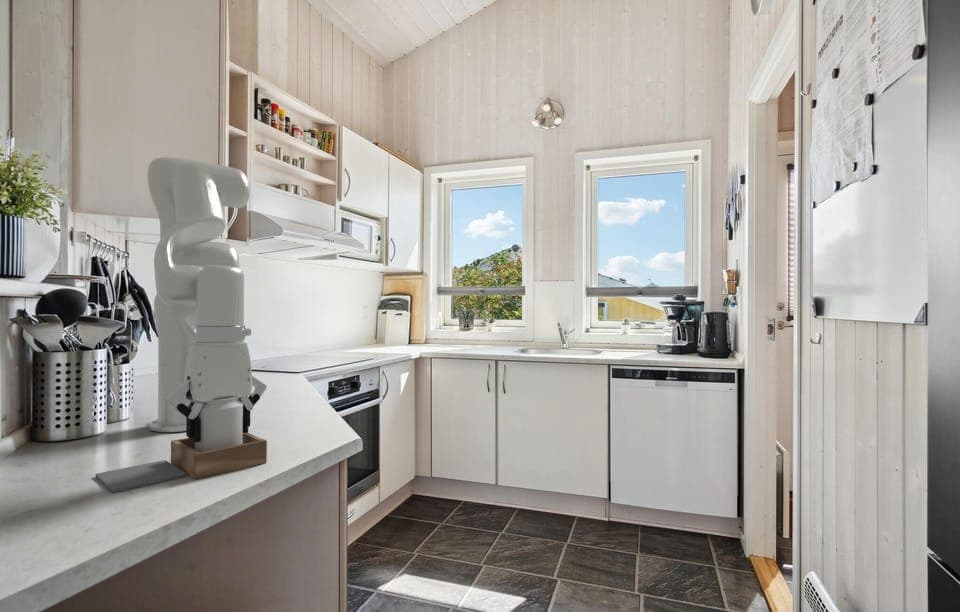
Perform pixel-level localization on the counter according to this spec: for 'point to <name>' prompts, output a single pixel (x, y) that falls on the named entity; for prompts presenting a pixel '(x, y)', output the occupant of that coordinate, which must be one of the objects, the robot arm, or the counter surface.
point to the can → (220, 424)
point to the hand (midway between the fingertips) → (219, 435)
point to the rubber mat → (139, 475)
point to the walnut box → (218, 456)
